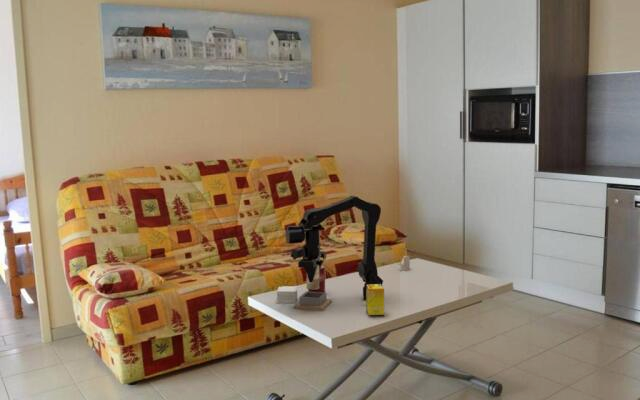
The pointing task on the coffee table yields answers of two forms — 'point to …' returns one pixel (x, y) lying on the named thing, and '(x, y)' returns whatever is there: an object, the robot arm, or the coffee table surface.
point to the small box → (287, 294)
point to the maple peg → (314, 281)
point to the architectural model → (405, 263)
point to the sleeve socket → (313, 301)
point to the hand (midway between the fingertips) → (313, 280)
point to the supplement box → (375, 300)
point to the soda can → (320, 281)
